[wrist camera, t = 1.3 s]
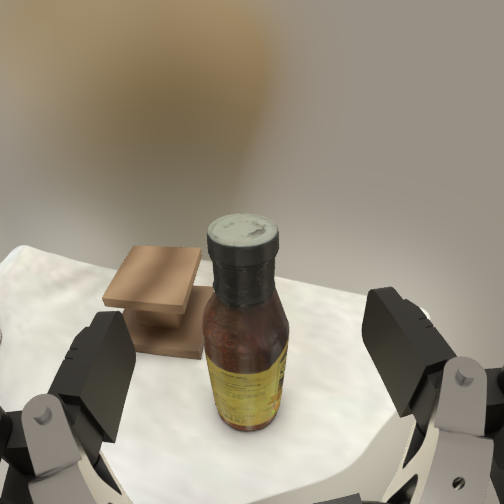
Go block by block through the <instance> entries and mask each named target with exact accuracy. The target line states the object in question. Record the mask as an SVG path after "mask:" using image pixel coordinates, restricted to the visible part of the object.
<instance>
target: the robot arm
mask: <svg viewBox="0 0 504 504" xmlns="http://www.w3.org/2000/svg"><path fill="white" fill-rule="evenodd" d="M362 338H363V342H364V344H365V347H366V348H367V350H368V352H369V354H370V356H371V358H372V360H373V362H374V364H375V366H376V368H377V370H378V372H379V374H380V376H381V378H382V380H383V382H384V384H385V386H386V389H387V391H388V393H389V395H390V397H391V399H392V401H393V403H394V405H395V407H396V410H397V412H398V414H399V416H400V417H404V416H407V415H410V414H413V415H414V417H415V419H416V420H415V421H414V423H413V426H412V429H411V432H410V436H409V439H408V442H407V445H406V448H405V451H404V454H403V457H402V460H401V462H400V465H399V468H398V470H397V473H396V475H395V477H394V479H393V480H392V482H391V483H390V485H389V487H388V489H387V491H386V492H385V494H384V496H383V499H382V501H381V502H378V501H361V498H360V495H359V493H357V494H354V495H350V496H346V497H342V498H338V499H333V500H329V501H324V502H319V503H314V504H484V501H485V497H486V492H487V488H488V482H489V477H490V478H491V480H492V483H493V486H494V488H495V490H496V493H497V496H498V499H499V502H500V504H504V366H503V368H493V369H484V368H483V367H482V366H481V365H480V364H479V363H478V362H477V361H475V360H473V359H471V358H468V357H457V356H456V354H455V353H454V351H453V350H452V349H451V347H450V346H449V345H448V344H447V342H446V341H445V340H444V338H443V337H442V336H441V334H440V333H439V332H438V330H437V329H436V328H435V327H433V324H432V323H431V322H430V320H429V319H427V317H426V315H425V314H424V313H423V312H422V310H421V309H420V308H419V307H418V306H416V305H415V304H413V303H412V302H410V301H409V300H407V299H405V300H403V299H402V298H401V296H400V295H399V294H398V293H397V292H396V290H395V289H394V288H393V287H385V288H378V289H371V290H370V291H369V292H368V296H367V301H366V307H365V313H364V318H363V323H362ZM0 341H1V331H0ZM135 363H136V352H135V347H134V344H133V341H132V339H131V336H130V334H129V331H128V328H127V326H126V323H125V320H124V317H123V315H122V313H121V312H120V311H106V312H97V313H96V315H95V317H94V319H93V321H92V322H91V324H90V326H89V327H85V328H84V329H83V330H82V331H81V332H80V333H79V334H78V335H77V336H76V337H75V338H74V340H73V342H72V344H71V346H70V350H68V352H67V354H66V356H65V360H63V362H62V364H61V366H60V368H59V370H58V372H57V374H56V376H55V378H54V380H53V382H52V384H51V387H50V389H49V391H48V393H47V394H41V395H38V396H35V397H34V398H32V399H31V400H30V401H29V402H28V403H27V404H26V405H25V407H24V409H23V410H22V411H13V412H5V411H4V410H3V409H2V408H1V406H0V461H1V458H2V459H3V460H5V461H6V462H7V463H8V464H9V468H8V471H7V475H6V479H5V482H4V487H3V491H2V495H1V498H0V504H133V502H132V501H131V500H130V499H129V497H128V496H127V494H126V493H125V491H124V490H123V488H122V486H121V485H120V483H119V481H118V480H117V478H116V476H115V475H114V473H113V471H112V469H111V468H110V466H109V464H108V462H107V460H106V458H105V456H104V455H103V453H102V451H101V450H100V448H101V444H102V442H109V443H115V441H116V437H117V432H118V428H119V424H120V420H121V416H122V412H123V408H124V404H125V400H126V396H127V392H128V388H129V385H130V381H131V377H132V374H133V370H134V367H135Z"/></svg>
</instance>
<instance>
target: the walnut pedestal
mask: <svg viewBox="0 0 504 504" xmlns="http://www.w3.org/2000/svg"><path fill="white" fill-rule="evenodd" d="M201 257H202V254H201V248H185V247H184V248H183V247H156V246H154V247H153V246H133V247H132V249H131V251H130V252H129V254H128V256H127V257H126V259H125V260H124V262H123V263H122V265H121V267H120V268H119V270H118V271H117V273H116V275H115V276H114V278H113V280H112V281H111V283H110V285H109V287H108V288H107V290H106V292H105V293H104V295H103V297H102V299H103V302H104V305H105V306H108V307H116V308H125V309H124V311H123V314H122V315H123V317H124V320H125V323H126V326H127V328H128V331H129V334H130V336H131V339H132V341H133V344H134V347H135V352H142V353H149V354H156V355H164V356H173V357H182V358H191V359H201V356H202V351H203V346H204V341H205V340H204V335H203V331H202V315H203V312H204V308H205V306H206V304H207V302H208V300H209V299H210V298H211V296H212V295H213V294H214V290H213V287H209V286H193V283H194V280H195V276H196V273H197V270H198V267H199V264H200V260H201Z"/></svg>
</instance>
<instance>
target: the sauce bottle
mask: <svg viewBox="0 0 504 504" xmlns="http://www.w3.org/2000/svg"><path fill="white" fill-rule="evenodd" d="M207 244H208V253H209V255H210V258H211V260H212V261H213V273H214V282H213V288H214V291H215V292H214V294H213V295H212V296H211V298H210V299H209V300H208V302H207V304H206V306H205V308H204V312H203V315H202V331H203V335H204V340H205V343H204V349H205V354H206V360H207V365H208V370H209V375H210V380H211V385H212V390H213V395H214V399H215V405H216V406H217V410H218V413H219V415H220V416H221V418H222V419H223V420H224V421H225V422H226V423H227V424H229V425H230V426H232V427H233V428H236V429H238V430H243V431H252V430H253V431H254V430H257V429H261V428H263V427H265V426H266V425H267V424H269V423H270V422H271V421H272V419H273V418H274V417H275V416H276V413H277V411H278V408H279V405H280V400H281V394H282V386H283V379H284V371H285V364H286V356H287V349H288V340H289V323H288V320H287V317H286V315H285V312H284V309H283V307H282V304H281V301H280V299H279V296H278V293H277V291H276V288H275V281H274V270H275V257H276V254H277V253H278V250H279V232H278V228H277V225H276V224H275V223H274V222H273V221H272V220H270V219H268V218H266V217H263V216H259V215H254V214H245V213H240V214H232V215H227V216H223V217H221V218H219V219H217V220H215V221H214V222H212V223H211V225H210V226H209V227H208V229H207Z"/></svg>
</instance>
